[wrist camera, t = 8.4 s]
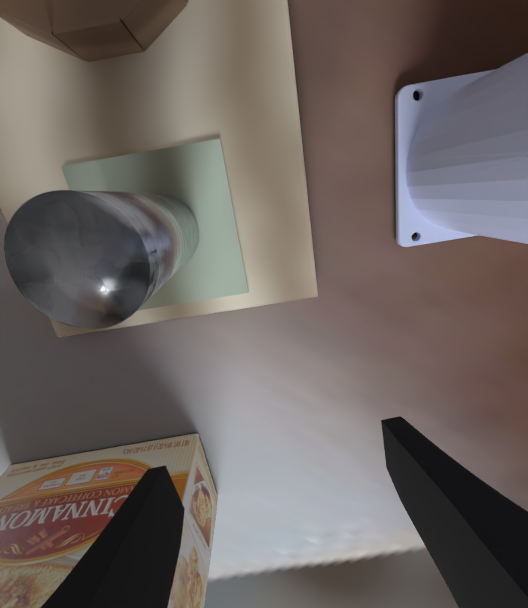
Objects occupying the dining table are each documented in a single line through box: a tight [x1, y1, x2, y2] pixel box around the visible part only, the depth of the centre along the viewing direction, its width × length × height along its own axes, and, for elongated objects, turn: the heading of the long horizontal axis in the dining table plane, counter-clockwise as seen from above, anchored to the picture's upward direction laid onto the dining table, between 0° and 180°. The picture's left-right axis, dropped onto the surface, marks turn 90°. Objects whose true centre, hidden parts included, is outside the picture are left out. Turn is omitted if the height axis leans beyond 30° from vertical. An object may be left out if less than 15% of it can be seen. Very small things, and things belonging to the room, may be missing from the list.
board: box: [0, 0, 318, 338], centre depth 13 cm, size 16×24×4 cm, turn 9°
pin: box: [4, 190, 199, 329], centre depth 12 cm, size 4×4×8 cm
